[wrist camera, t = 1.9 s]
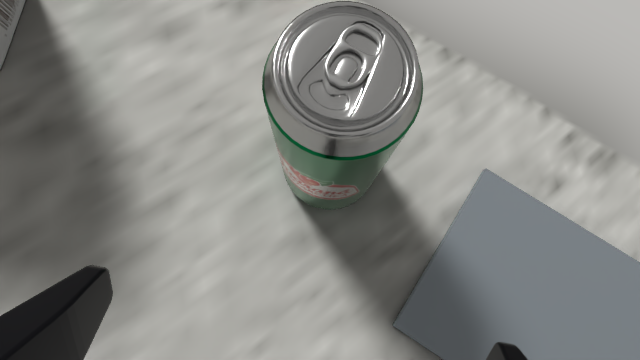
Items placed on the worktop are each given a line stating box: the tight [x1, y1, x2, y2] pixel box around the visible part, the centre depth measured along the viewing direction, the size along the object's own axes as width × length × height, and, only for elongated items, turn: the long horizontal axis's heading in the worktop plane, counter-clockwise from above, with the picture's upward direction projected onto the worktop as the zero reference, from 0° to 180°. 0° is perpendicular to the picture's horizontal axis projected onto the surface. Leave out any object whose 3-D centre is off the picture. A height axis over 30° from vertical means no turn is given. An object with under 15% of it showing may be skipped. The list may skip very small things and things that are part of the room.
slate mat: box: [393, 169, 640, 360], centre depth 22 cm, size 14×10×1 cm
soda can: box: [262, 1, 423, 209], centre depth 18 cm, size 5×5×12 cm
